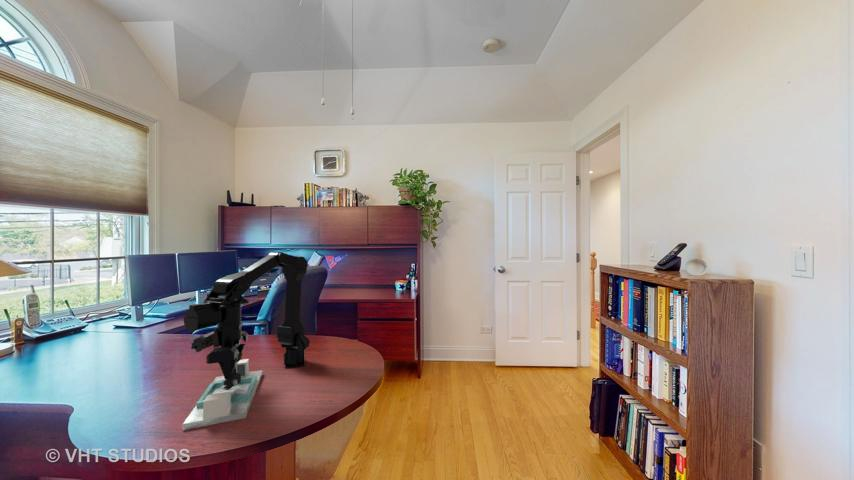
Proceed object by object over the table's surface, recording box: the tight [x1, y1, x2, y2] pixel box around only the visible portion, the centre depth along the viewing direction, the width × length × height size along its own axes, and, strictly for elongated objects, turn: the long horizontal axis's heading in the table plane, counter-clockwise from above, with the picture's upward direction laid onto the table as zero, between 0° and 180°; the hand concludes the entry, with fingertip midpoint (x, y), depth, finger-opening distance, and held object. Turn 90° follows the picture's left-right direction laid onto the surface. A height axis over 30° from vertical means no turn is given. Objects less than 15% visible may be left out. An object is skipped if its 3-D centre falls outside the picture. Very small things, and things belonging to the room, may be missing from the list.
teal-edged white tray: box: [182, 370, 263, 431], centre depth 84 cm, size 13×26×3 cm, turn 21°
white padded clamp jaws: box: [203, 358, 250, 420], centre depth 84 cm, size 5×26×4 cm, turn 21°
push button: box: [220, 350, 243, 392], centre depth 84 cm, size 7×5×10 cm
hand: (229, 375), depth 85 cm, fingers closed on push button, 4 cm apart
